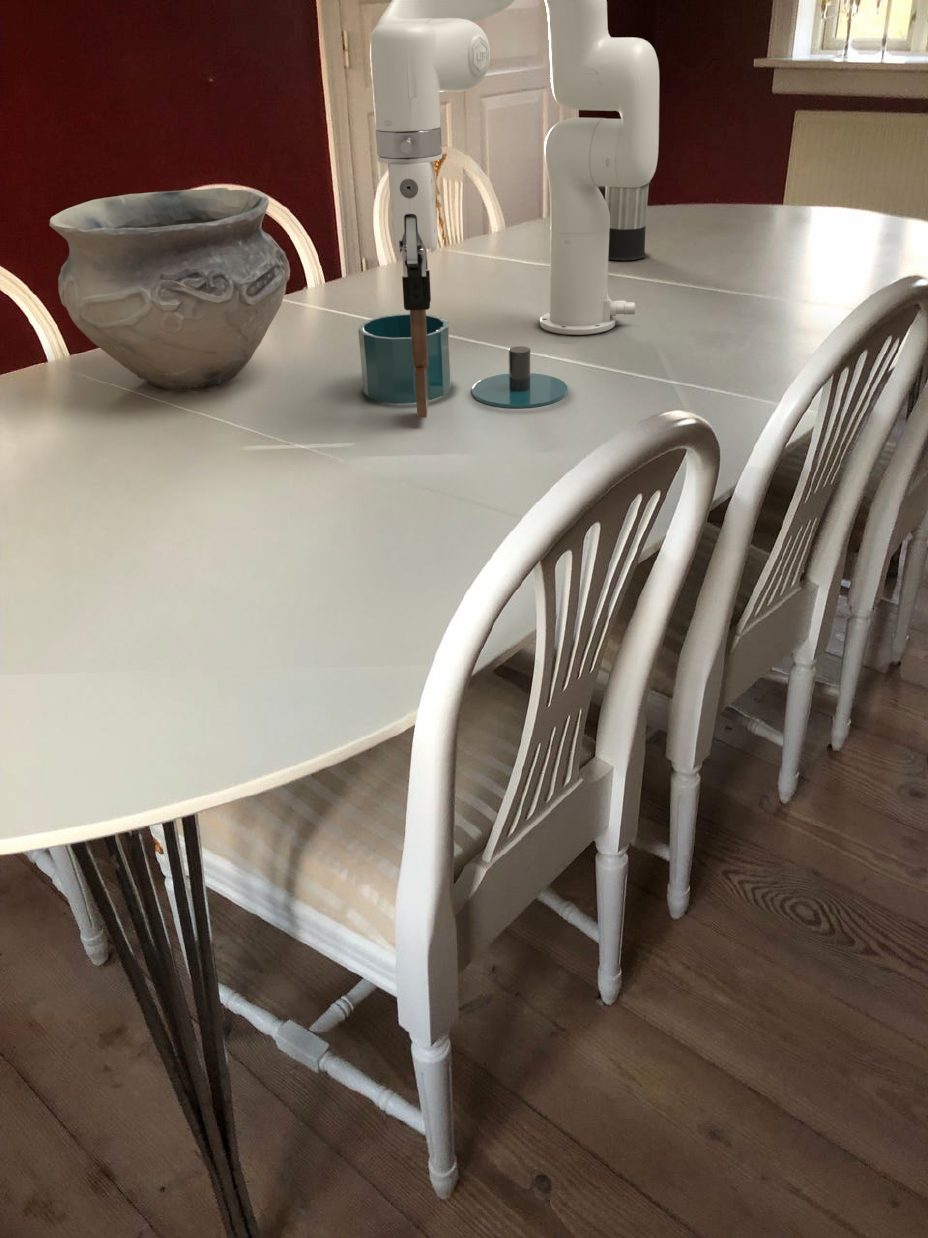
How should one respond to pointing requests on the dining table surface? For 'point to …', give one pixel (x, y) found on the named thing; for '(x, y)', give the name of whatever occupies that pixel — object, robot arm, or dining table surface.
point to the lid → (519, 385)
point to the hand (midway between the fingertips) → (417, 305)
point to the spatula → (420, 359)
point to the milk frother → (626, 221)
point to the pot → (402, 358)
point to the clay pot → (173, 281)
